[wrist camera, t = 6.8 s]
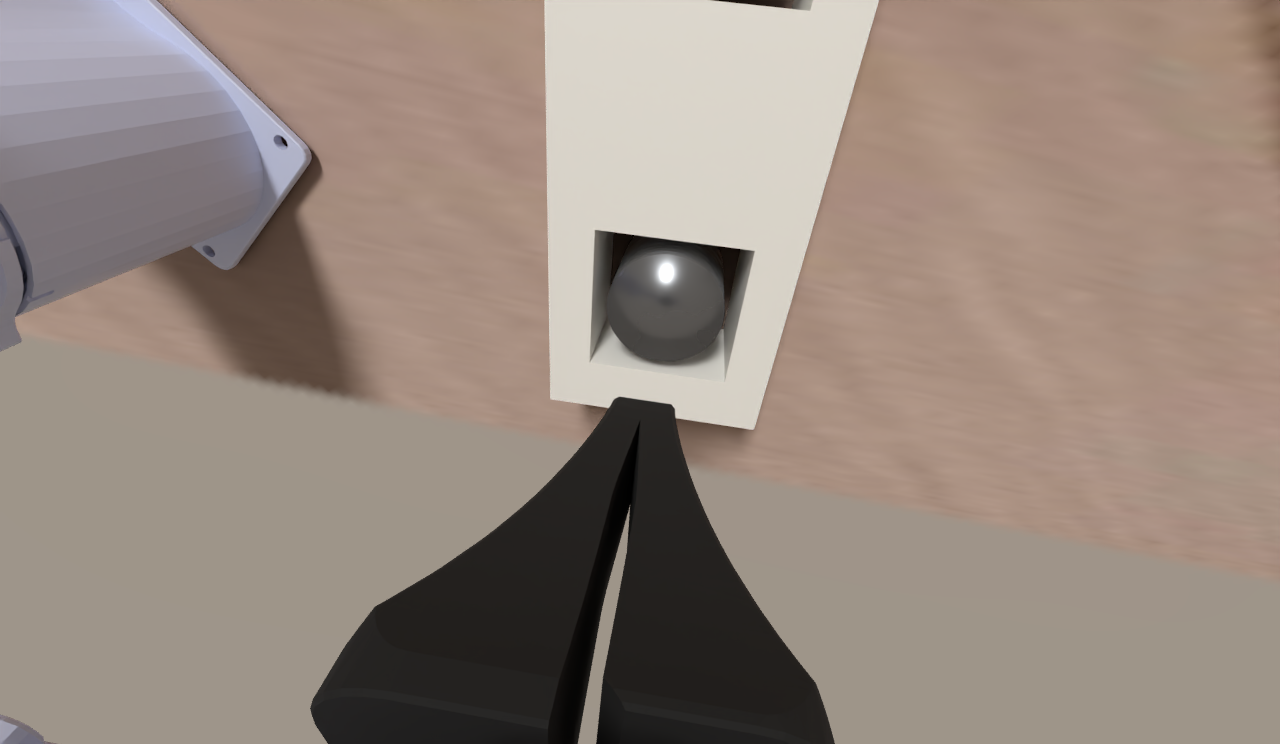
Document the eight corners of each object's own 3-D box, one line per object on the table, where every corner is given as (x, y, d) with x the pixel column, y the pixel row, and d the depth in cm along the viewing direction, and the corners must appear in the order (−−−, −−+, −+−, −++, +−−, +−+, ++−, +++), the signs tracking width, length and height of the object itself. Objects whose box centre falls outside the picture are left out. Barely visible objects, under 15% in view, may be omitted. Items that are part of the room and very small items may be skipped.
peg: (602, 260, 20) (582, 300, 17) (682, 197, 18) (675, 229, 15) (663, 331, 22) (655, 379, 19) (743, 279, 20) (748, 323, 17)
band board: (587, -384, 12) (536, -548, 8) (939, -360, 11) (1031, -524, 8) (574, 346, 23) (550, 398, 20) (748, 372, 23) (753, 429, 19)
